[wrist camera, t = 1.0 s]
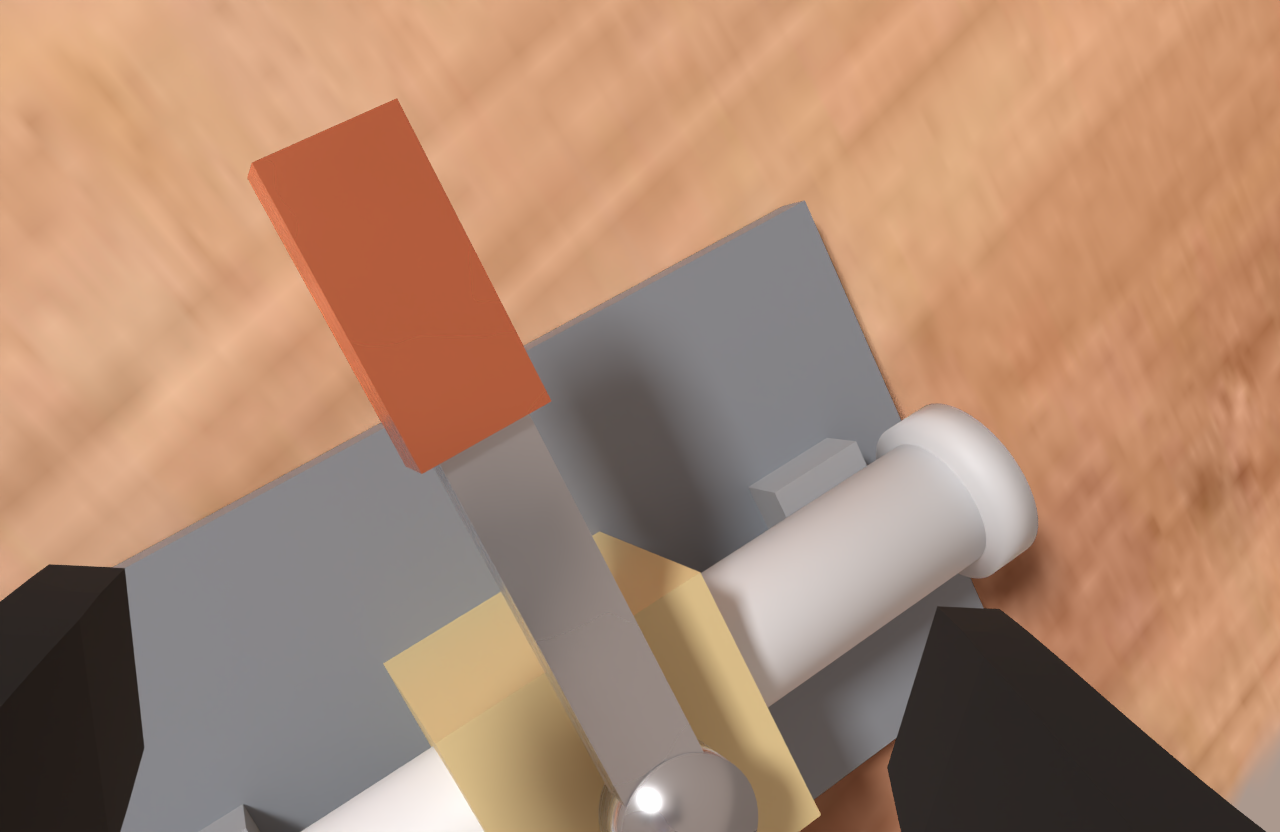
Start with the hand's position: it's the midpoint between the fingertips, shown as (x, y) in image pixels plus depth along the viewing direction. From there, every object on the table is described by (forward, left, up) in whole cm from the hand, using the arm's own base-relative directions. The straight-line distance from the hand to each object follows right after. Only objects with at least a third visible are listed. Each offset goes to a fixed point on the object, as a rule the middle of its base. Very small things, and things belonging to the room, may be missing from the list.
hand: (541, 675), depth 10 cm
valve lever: (+2, 0, -6) cm, 6 cm away
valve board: (+2, -5, -13) cm, 14 cm away
